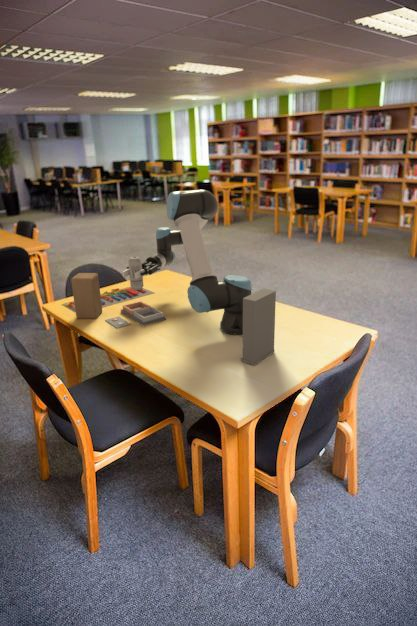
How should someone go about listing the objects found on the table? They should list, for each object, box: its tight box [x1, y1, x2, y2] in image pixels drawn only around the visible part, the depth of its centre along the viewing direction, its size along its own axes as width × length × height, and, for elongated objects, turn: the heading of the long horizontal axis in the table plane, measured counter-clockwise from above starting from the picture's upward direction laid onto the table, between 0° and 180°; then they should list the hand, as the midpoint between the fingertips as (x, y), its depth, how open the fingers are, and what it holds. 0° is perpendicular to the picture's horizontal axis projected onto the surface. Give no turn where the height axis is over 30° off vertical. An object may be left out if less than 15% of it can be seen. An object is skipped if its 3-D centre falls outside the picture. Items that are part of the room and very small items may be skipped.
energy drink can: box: [128, 255, 144, 290], centre depth 207 cm, size 6×6×15 cm
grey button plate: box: [105, 316, 132, 329], centre depth 202 cm, size 12×7×1 cm, turn 37°
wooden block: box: [70, 272, 103, 320], centre depth 208 cm, size 10×10×20 cm
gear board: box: [61, 286, 155, 313], centre depth 234 cm, size 45×2×19 cm
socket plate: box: [120, 300, 167, 327], centre depth 208 cm, size 22×12×4 cm, turn 37°
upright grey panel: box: [240, 288, 277, 366], centre depth 162 cm, size 14×6×25 cm, turn 140°
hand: (129, 275), depth 202 cm, fingers closed on energy drink can, 6 cm apart
